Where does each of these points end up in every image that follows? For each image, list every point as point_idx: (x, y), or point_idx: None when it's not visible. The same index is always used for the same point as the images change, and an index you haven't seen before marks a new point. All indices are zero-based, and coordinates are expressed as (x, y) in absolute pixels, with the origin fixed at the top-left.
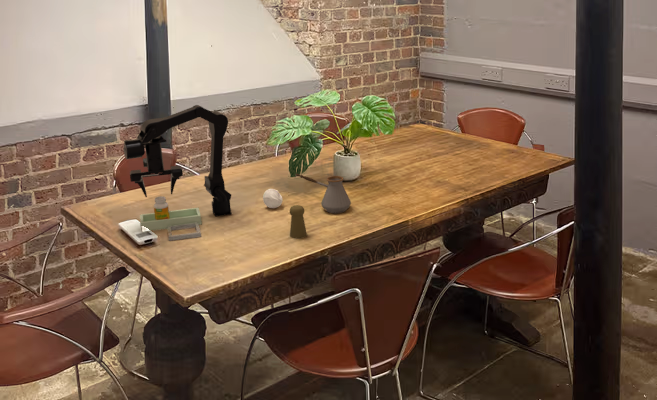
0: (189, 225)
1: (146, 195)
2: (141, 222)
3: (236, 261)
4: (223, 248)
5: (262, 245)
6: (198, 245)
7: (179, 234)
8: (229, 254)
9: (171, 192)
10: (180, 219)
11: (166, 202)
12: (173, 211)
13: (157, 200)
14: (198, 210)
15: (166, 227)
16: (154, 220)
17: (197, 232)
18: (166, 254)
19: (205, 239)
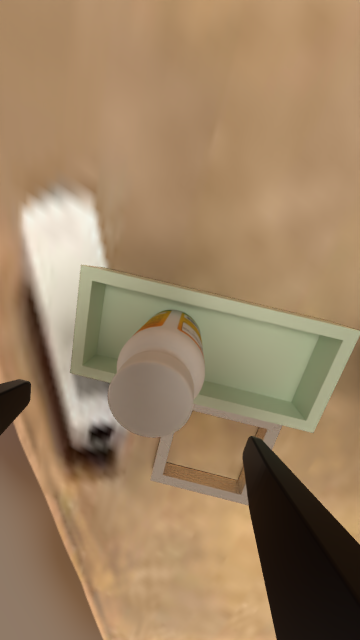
0: (246, 420)
1: (10, 422)
2: (75, 367)
3: (251, 631)
4: (259, 574)
5: None
6: (213, 530)
7: (185, 481)
8: (255, 602)
9: (250, 486)
10: (227, 408)
11: (197, 378)
12: (234, 314)
13: (124, 423)
14: (339, 370)
15: None
16: (148, 296)
17: (240, 496)
18: (126, 531)
19: (246, 510)
